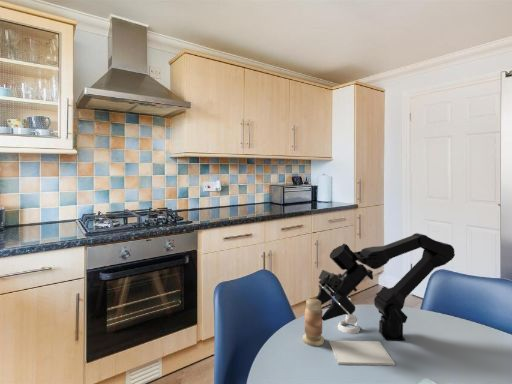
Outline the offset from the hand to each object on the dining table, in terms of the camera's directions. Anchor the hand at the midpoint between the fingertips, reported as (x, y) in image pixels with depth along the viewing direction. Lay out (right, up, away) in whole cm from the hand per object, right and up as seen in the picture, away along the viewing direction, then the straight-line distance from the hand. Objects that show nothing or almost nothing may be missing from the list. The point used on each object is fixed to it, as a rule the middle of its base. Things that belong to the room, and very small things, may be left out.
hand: (317, 313), depth 102 cm
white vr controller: (+13, -9, +9) cm, 18 cm away
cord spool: (-1, -9, 0) cm, 9 cm away
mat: (+11, -9, -7) cm, 16 cm away
